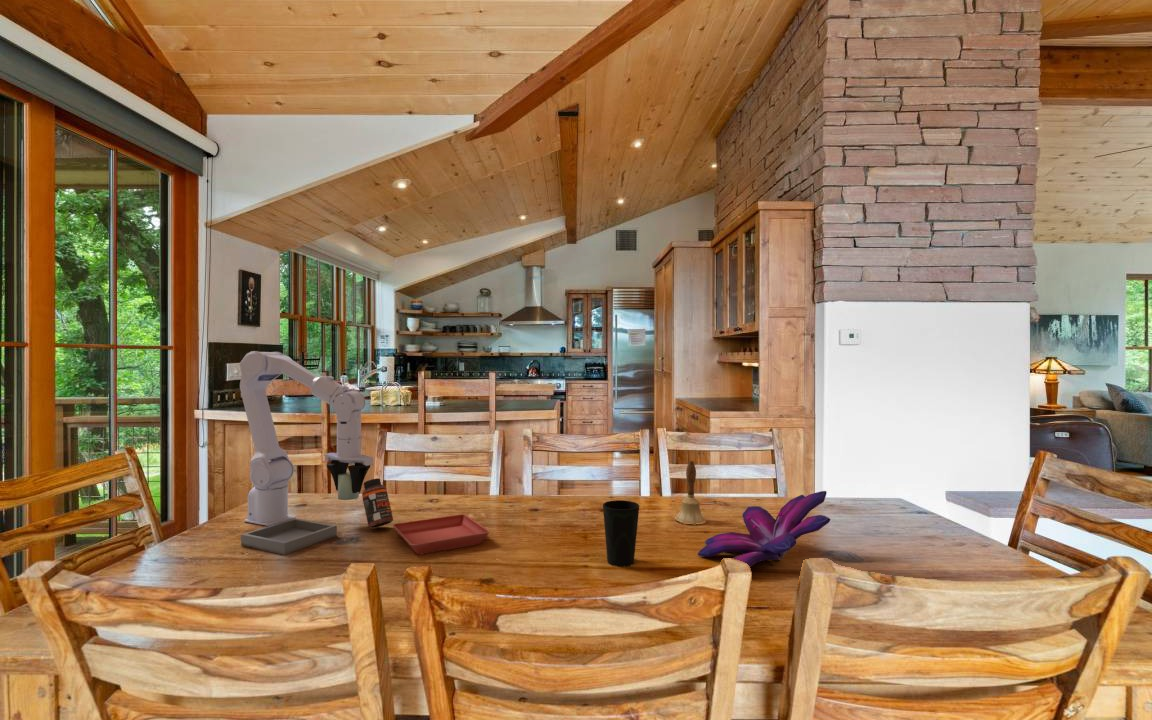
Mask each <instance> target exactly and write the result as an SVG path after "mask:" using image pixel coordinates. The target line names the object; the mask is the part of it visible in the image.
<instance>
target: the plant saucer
mask: <svg viewBox="0 0 1152 720" xmlns="http://www.w3.org/2000/svg"><path fill="white" fill-rule="evenodd" d="M392 526H393V528H394V530H395V531H396V533H397V534H398V535H399V536H400V537H401V538H402V539H403V540H404V541H405V542H406V544H407V545H408V546H409V547H410V549H412V551H413V552H414V553H415V554H416V553H417V555H422V554H421V553H425V554H429V553H428V552H430V553H435V551H436V552H441V550H442V551H446V550H452V549H457V548H464V547H470V546H475V545H479V544H480V543H482V541H484V540H485V538H486V537H487V536H488V535H489V534H490V530H489V529H487V528H485V526H482V525H481V524H480V523H479V522H477V521H475V520H474V519H473V518H471V517H469V516H468V515H467V514H463V513H462V514H454V515H448V516H440V517H433V518H426V519H419V520H413V521H412V520H411V521H406V522H399V523H395V524H393V525H392Z"/></svg>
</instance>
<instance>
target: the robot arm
mask: <svg viewBox="0 0 1152 720" xmlns="http://www.w3.org/2000/svg"><path fill="white" fill-rule="evenodd" d="M239 368H240V373H241V376H240V382H239V391H240V395H241V398H242V402H243V406H244V410H245V415H246V419H247V422H248V426H249V431H250V435H251V439H252V444H253V447H254V450H255V451H254V452H255V453H254V455H253V456H252V458H251V460H250V461H249V465H250V471H249V480H250V482H251V484H252V485H253V487H252V488H251V489H250V490H249V492H248V494H247V515H246V516H247V518H245V519H244V522H247V523H250V524H256V525H260V526H261V525H262V526H265V527H268V526H271V525H275V524H278V523H281V522H285V521H288V520H291V519H295V518H296V519H297V517H296V516H295V515H290V514H289V484H290V480H291V479H292V477H293V475H294V473H295V466H294V463H293V462H292V460H290V457H289V456H288V452H287V451H286V450H285V449H283V448H281V447H280V444H279V439H278V436H277V432H276V427H275V424H274V419H273V416H272V411H271V407H270V403H269V400H268V396H267V392H266V389H267V388H268V386H269V385H270V384H271V383H272V382H273V381H274V380H276V379H277V378H278V377H279V376H281V375H285V376H287V377H288V378H289V379H290V378H291V379H293V380H295V381H296V382H299V383H301V384H302V385H304V386H306V387H308V388H309V389H310V393H311V394H312V396H314V397H315V398H317V399H319V400H321V401H323V402H324V403H326V404H328V405H329V406H331V407H332V409H333V411H334V412H335V415H336V452H328V453H327V452H326V453H325V454H324V462H330V463H328V464H326V468H327V470H328V471H329V472H330V474H331V477H332V480H333V483H334V486H335V490H336V492H338V474H341V473H346V472H347V471H348V472H350V475H351V481H352V492H353V493H357V492H359V493H361V491H362V486H363V485H364V482H365V481H364V480H365V478H366V475H367V473H368V472H369V470H370V468H371V465H374V457H373V456H369V455H365V454H364V453H362V451H361V450H362V449H361V448H362V439H361V438H362V434H361V433H362V410H363V409H364V408H365V406H366V397H365V396H364V395H363V394H362V393H361V391H359V390H357V389H354V390H350V387H349V386H348V385H342V384H341V383H339V382H338V381H336V380H335V377H334V376H331V375H321V376H317V375H316V374H314V373H312V372H311V371H310V370H308V369H307V368H306V367H304V366H303V365H302V364H301V365H300V364H299V363H298V362H296V361H295V360H293V359H292V358H291V357H290V356H288V355H284V354H283V353H282V352H280V351H271V352H270V351H257V350H253V351H250V352H247V353H246V354H245V355H244V356H243V358H242V360H240V362H239ZM350 464H352V465H350Z"/></svg>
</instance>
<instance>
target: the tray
mask: <svg viewBox="0 0 1152 720" xmlns="http://www.w3.org/2000/svg"><path fill="white" fill-rule="evenodd" d="M337 531H338V526H337V524H336V525H335V524H328V523H323V522H318V521H313V520H312V521H311V520H308V519H302V518H297V517H296V518H294V519H291V520H287V521H284V522H280V523H277V524H274V525H270V526H265V527H262V528H258V529H255V530H251V531H248V532H245V533H242V534H240V546H241V545H242V547H245V546H246V547H245V548H250V547H251V548H250V549H255V550H260V551H265V552H270V553H275V554H278V555H284V556H285V555H288V554H291V553H293V552H296V551H299V550H302V549H304V548H307V547H310V546H313V545H316V544H319V543H321V542H324V541H327V540H329V539H333V538H336V537H337V536H338V532H337Z"/></svg>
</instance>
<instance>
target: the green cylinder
mask: <svg viewBox="0 0 1152 720" xmlns="http://www.w3.org/2000/svg"><path fill="white" fill-rule="evenodd" d="M358 498H360V492H357V493H353V492H352V481H351V475H350V472H349V471H348V472H346V473H341V474H338V491H337V499H338V500H339V501H350V500H355V499H358Z"/></svg>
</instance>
